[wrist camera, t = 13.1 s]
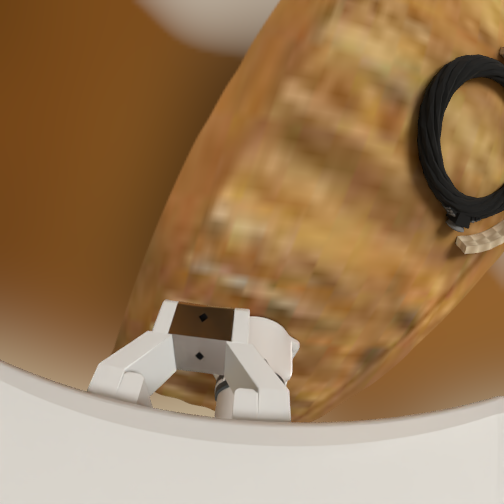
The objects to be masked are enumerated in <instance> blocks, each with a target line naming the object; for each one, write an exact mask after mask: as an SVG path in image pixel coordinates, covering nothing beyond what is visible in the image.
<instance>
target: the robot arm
mask: <svg viewBox="0 0 504 504" xmlns="http://www.w3.org/2000/svg"><path fill="white" fill-rule="evenodd" d="M234 310H235V311H234ZM299 346H300V343H299V342H298V341H297V340H295V339H294V338H292V337H290V336H289V335H288V333H287V332H286V331H285V329H284V328H283V327H282V326H281V325H279V324H278V323H276V322H274V321H272V320H269V319H266V318H262V317H253V316H250V310H249V309H241V308H227V307H217V306H208V305H200V304H193V303H186V302H180V301H179V302H178V301H171V300H165V301H164V302H163V304H162V306H161V309H160V311H159V314H158V316H157V319H156V322H155V324H154V327H153V330H152V331H147V332H145V333H144V334H142V335H141V336H139V337H138V338H136V339H135V340H133V341H132V342H130V343H129V344H127V345H126V346H124V347H123V348H121V349H120V350H118V351H117V352H115V353H114V354H112V355H111V356H109V357H108V358H107V359H105V360H104V361H102V362H100V363H99V364H98V367H97V369H96V371H95V373H94V376H93V378H92V380H91V382H90V385H89V387H88V389H87V392H86V391H83V390H80V389H76V388H73V387H70V386H67V385H64V384H61V383H58V382H55V381H52V380H49V379H47V378H44V377H41V376H38V375H36V374H33V373H31V372H28V371H26V370H23V369H21V368H18V367H16V366H14V365H11V364H9V363H6V362H4V361H2V360H0V504H504V397H503V396H497V397H493V398H489V399H486V400H483V401H479V402H475V403H471V404H467V405H462V406H458V407H453V408H448V409H443V410H438V411H433V412H427V413H421V414H414V415H408V416H400V417H392V418H383V419H374V420H361V421H344V422H321V423H320V422H318V423H316V422H314V423H313V422H311V423H298V422H291V415H290V397H289V390H288V389H287V387H286V384H287V380H289V379H290V376H292V359H293V357H294V356H295V354H296V353H297V351H298V350H299ZM176 369H177V370H186V371H194V372H202V373H209V374H213V375H214V377H215V379H216V386H215V400H216V410H215V417H207V416H199V415H191V414H185V413H179V412H173V411H167V410H162V409H156V408H153V407H152V404H151V400H150V396H151V395H152V394H153V393H154V392H155V391H156V390H157V389H158V388H159V387H160V386H161V385H162V384H163V383H164V382H165V381H166V380H167V379H168V378H169V377H170V376H171V375H172V374H173V373H174V372H176Z"/></svg>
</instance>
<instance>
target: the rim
mask: <svg viewBox="0 0 504 504" xmlns="http://www.w3.org/2000/svg"><path fill="white" fill-rule="evenodd" d="M499 54H500V55H501V56H502V57H504V47H501V49H500V53H499ZM503 242H504V220H503V221H501V222H500V223H498V224H497V225H495V226H494V227H492V228H490V229H488V230H486V231H484V232H482V233H478V234H474V235H470V236H457V240H456V245H457V246H458V247H459V248H460V249H461V250H462V251H463V253H464V254H470V253H479V252H482V251H486V250H489V249H492V248H494V247H496V246H498V245H500V244H502V243H503Z"/></svg>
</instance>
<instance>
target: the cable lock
mask: <svg viewBox="0 0 504 504" xmlns="http://www.w3.org/2000/svg"><path fill="white" fill-rule="evenodd" d="M478 77H486V78H490V79H492V80H494V81H496V82H497V83H499V84H501V85H502V86H503V87H504V65H503V64H502V63H501V62H499V61H497V60H495V59H493V58H489V57H486V56H483V55H479V54H478V55H465V56H461V57H458V58H456V59H455V60H453V61H452V62H450V63H448V64H446V65H445V66H444V67H443V68H442V69H441V70H440V71H439V73H438V74H437V75H436V76H435V77H434V78H433V80H432V81H431V83H430V84H429V86H428V87H427V89H426V92H425V95H424V99H423V102H422V104H421V107H420V113H419V120H418V138H417V143H418V151H419V159H420V162H421V165H422V167H423V173H424V175H425V178H426V180H427V182H428V185H429V187H430V189H431V190H432V192H433V193H434V195H435V196H436V198H437V199H438V200H439V201H440V202H441V203H442V205H443V207H444V208H445V209H446V211H447V214H446V216H447V217H448V218H449V219H448V220H447V221H446V223H447V225H448V226H449V227H451V228H452V229H453V230H455V231H458V232H464V228H463V227H465V228H468V229H469V225H470V222H472V223H474V221H476V222H477V221H478V220H481V219H483V218H487V217H489V216H493V215H495V214H497V213H499V212H502V211H504V186H503V187H502V188H501V189H499V190H498V191H496V192H494V193H493V194H491V195H488V196H486V197H482V198H475V197H470V196H466V195H464V194H463V193H461V192H459V191H458V190H457V189H456V188H455V187H454V185H453V183H452V182H451V180H450V178H449V177H448V175H447V174H446V171H445V169H444V164H443V159H442V153H441V145H440V137H441V129H442V121H443V116H444V112H445V110H446V108H447V106H448V103H449V101H450V99H451V97H452V95H453V94H454V92H455V91H456V90H457V89H458V88H459V87H460V86H461V85H462V84H463V83H464V82H465V81H467V80H470V79H472V78H478Z"/></svg>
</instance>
